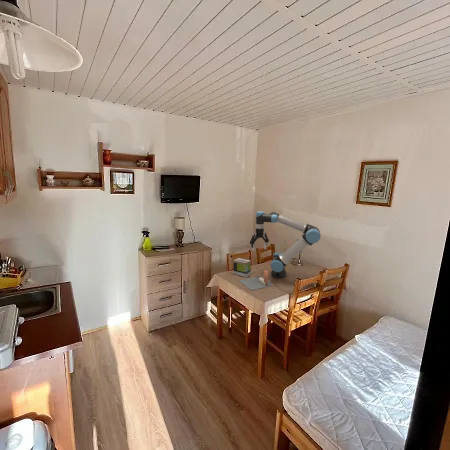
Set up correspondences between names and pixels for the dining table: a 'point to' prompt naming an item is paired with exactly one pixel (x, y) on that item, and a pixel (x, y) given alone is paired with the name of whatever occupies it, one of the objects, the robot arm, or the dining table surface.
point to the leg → (265, 280)
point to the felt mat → (254, 283)
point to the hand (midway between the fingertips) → (259, 250)
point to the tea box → (242, 267)
